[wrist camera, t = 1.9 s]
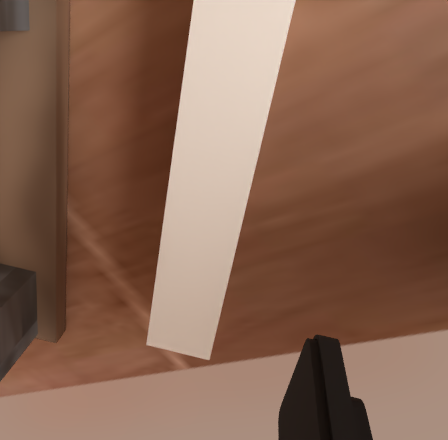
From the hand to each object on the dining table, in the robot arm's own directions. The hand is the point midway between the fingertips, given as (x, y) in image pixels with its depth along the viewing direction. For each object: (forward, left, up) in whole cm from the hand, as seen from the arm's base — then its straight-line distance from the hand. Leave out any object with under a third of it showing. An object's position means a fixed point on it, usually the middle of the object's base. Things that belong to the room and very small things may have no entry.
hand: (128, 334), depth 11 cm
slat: (0, 0, -16) cm, 16 cm away
